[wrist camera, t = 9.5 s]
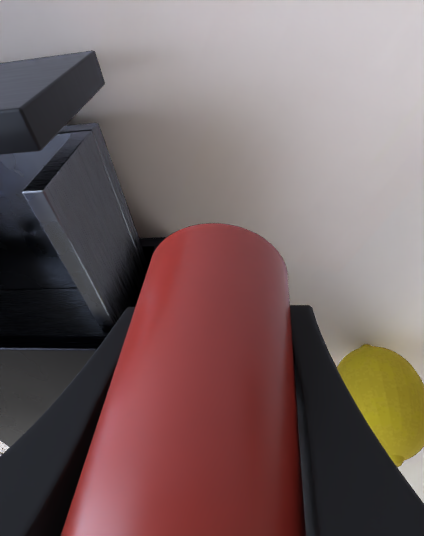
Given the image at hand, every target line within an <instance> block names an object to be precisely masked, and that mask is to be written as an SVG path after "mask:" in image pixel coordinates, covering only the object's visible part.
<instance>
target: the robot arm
mask: <svg viewBox="0 0 424 536" xmlns="http://www.w3.org/2000/svg"><path fill="white" fill-rule="evenodd" d="M134 310H135V307H128V308H127V309H126V310H125V311H124V313H123V314H122V315H121V317H120V318H119V320H118V321H117V322H116V324H115V325H114V327H113V328H112V329H111V331H110V332H109V334H108V335H107V336H106V338H105V339H104V341H103V342H102V343H101V345H100V346H99V347H98V349H97V350H96V351H95V353H94V354H93V355H92V357H91V358H90V359H89V360H88V362H87V363H86V364H85V366H84V367H83V368H82V370H81V371H80V372H79V373H78V374H77V376H76V377H75V378H74V379H73V380H72V382H71V383H70V384H69V385H68V387H67V388H66V389H65V390H64V391H63V393H62V394H61V395H60V396H59V397H58V398H57V399H56V401H55V402H54V403H53V404H52V405H51V406H50V407H49V408H48V409H47V411H46V412H45V413H44V414H43V415H42V416H41V417H40V418H39V419H38V420H37V421H36V422H35V423H34V424H33V425H32V426H31V427H30V428H29V429H28V430H27V431H26V432H25V433H24V434H23V435H22V436H21V437H20V438H19V439H18V440H17V441H16V442H15V443H14V444H13V445H12V446H11V447H10V448H9V449H8V450H7V451H6V452H5V453H3V454H2V455H1V456H0V536H61V533H62V530H63V527H64V524H65V521H66V518H67V515H68V512H69V509H70V506H71V503H72V500H73V496H74V493H75V490H76V487H77V484H78V481H79V478H80V475H81V472H82V469H83V466H84V463H85V460H86V457H87V454H88V451H89V448H90V445H91V442H92V438H93V435H94V432H95V429H96V426H97V423H98V420H99V417H100V414H101V411H102V408H103V405H104V402H105V399H106V396H107V393H108V390H109V387H110V384H111V380H112V377H113V374H114V371H115V368H116V365H117V362H118V359H119V356H120V353H121V350H122V347H123V344H124V341H125V338H126V335H127V332H128V329H129V326H130V322H131V319H132V316H133V313H134ZM290 316H291V331H292V344H293V358H294V372H295V386H296V400H297V414H298V428H299V443H300V457H301V471H302V485H303V499H304V513H305V527H306V536H424V503H423V502H422V501H421V499H420V498H419V497H418V495H417V494H416V493H415V491H414V490H413V489H412V487H411V486H410V484H409V483H408V482H407V480H406V479H405V478H404V476H403V475H402V474H401V472H400V471H399V470H398V468H397V467H396V465H395V464H394V462H393V461H392V459H391V458H390V457H389V455H388V454H387V452H386V451H385V449H384V448H383V446H382V445H381V443H380V442H379V440H378V439H377V437H376V435H375V434H374V432H373V431H372V429H371V428H370V426H369V425H368V423H367V421H366V420H365V418H364V416H363V415H362V413H361V411H360V410H359V408H358V406H357V405H356V403H355V401H354V399H353V398H352V396H351V394H350V392H349V391H348V389H347V387H346V385H345V383H344V381H343V379H342V377H341V375H340V373H339V371H338V369H337V367H336V365H335V363H334V361H333V359H332V357H331V355H330V353H329V351H328V349H327V347H326V344H325V342H324V339H323V337H322V335H321V332H320V330H319V327H318V324H317V321H316V318H315V315H314V312H313V308H312V307H311V306H309V305H290Z"/></svg>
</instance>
